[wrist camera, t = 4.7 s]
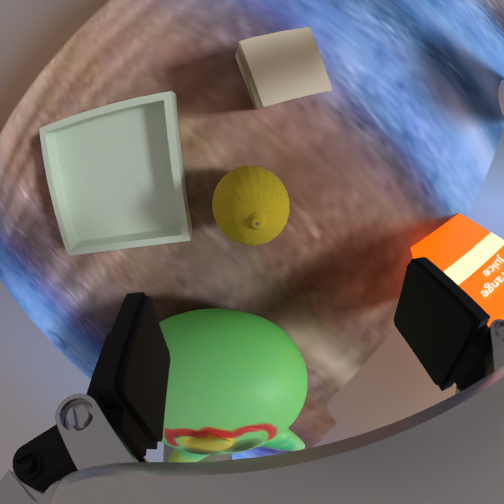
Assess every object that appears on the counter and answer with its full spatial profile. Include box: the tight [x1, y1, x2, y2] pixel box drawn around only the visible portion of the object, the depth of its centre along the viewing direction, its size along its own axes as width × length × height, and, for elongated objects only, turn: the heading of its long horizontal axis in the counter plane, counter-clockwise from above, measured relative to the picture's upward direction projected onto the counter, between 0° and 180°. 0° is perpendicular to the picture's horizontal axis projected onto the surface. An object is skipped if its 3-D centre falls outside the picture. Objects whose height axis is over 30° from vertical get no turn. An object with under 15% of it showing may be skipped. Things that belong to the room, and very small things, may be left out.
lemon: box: [212, 166, 289, 246], centre depth 20 cm, size 6×6×8 cm
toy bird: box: [159, 309, 307, 462], centre depth 25 cm, size 18×17×15 cm
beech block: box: [235, 27, 332, 110], centre depth 17 cm, size 5×5×5 cm
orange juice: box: [411, 213, 504, 327], centre depth 21 cm, size 8×9×20 cm
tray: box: [39, 91, 192, 256], centre depth 21 cm, size 12×12×2 cm
